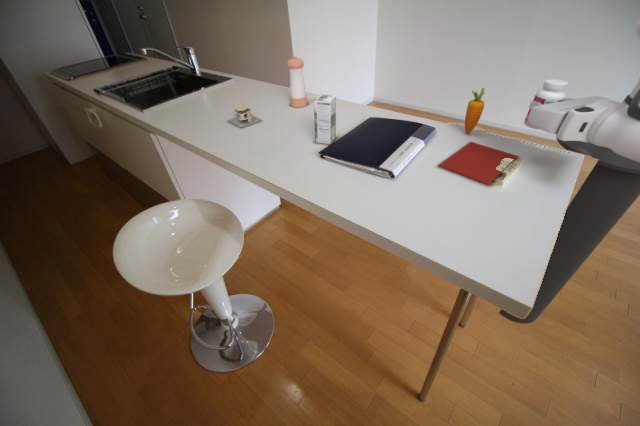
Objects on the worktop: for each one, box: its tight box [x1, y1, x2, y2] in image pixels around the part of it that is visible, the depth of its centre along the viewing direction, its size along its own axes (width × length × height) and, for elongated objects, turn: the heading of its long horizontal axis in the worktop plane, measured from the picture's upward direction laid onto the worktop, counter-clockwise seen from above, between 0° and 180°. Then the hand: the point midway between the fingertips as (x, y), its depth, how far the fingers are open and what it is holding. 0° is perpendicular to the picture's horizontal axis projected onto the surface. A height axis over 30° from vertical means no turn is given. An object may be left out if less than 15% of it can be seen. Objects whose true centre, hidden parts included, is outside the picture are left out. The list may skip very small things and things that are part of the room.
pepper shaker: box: [286, 55, 308, 108], centre depth 123 cm, size 7×7×19 cm
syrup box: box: [313, 94, 337, 145], centre depth 95 cm, size 6×6×14 cm
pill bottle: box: [523, 78, 569, 131], centre depth 73 cm, size 6×6×11 cm
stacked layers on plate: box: [229, 103, 261, 129], centre depth 114 cm, size 10×9×6 cm
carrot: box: [464, 87, 486, 135], centre depth 94 cm, size 5×5×15 cm
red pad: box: [438, 141, 519, 186], centre depth 84 cm, size 20×14×1 cm
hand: (543, 101), depth 74 cm, fingers closed on pill bottle, 6 cm apart
